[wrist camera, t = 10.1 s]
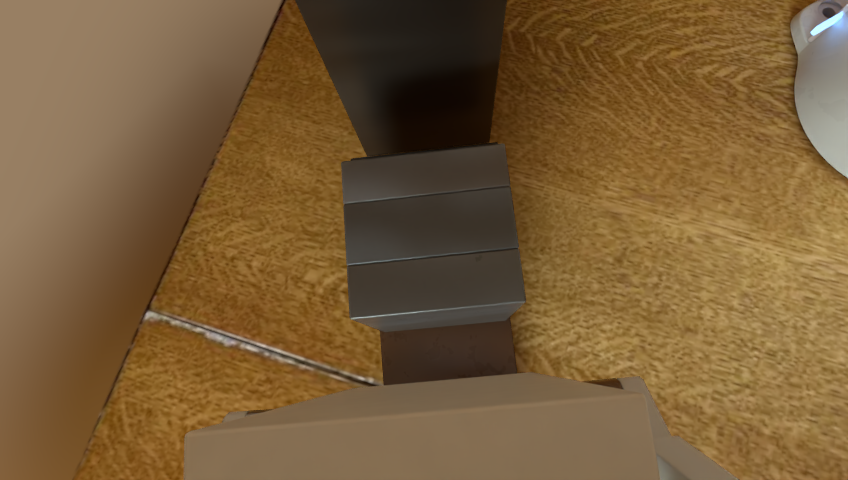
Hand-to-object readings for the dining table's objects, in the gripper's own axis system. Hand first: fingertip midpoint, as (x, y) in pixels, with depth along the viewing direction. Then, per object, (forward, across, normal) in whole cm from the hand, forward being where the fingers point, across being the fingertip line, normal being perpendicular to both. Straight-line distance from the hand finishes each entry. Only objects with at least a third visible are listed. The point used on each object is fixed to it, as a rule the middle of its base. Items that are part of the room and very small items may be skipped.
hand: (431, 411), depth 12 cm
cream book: (+4, 0, +5) cm, 6 cm away
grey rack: (+19, 0, +12) cm, 23 cm away
